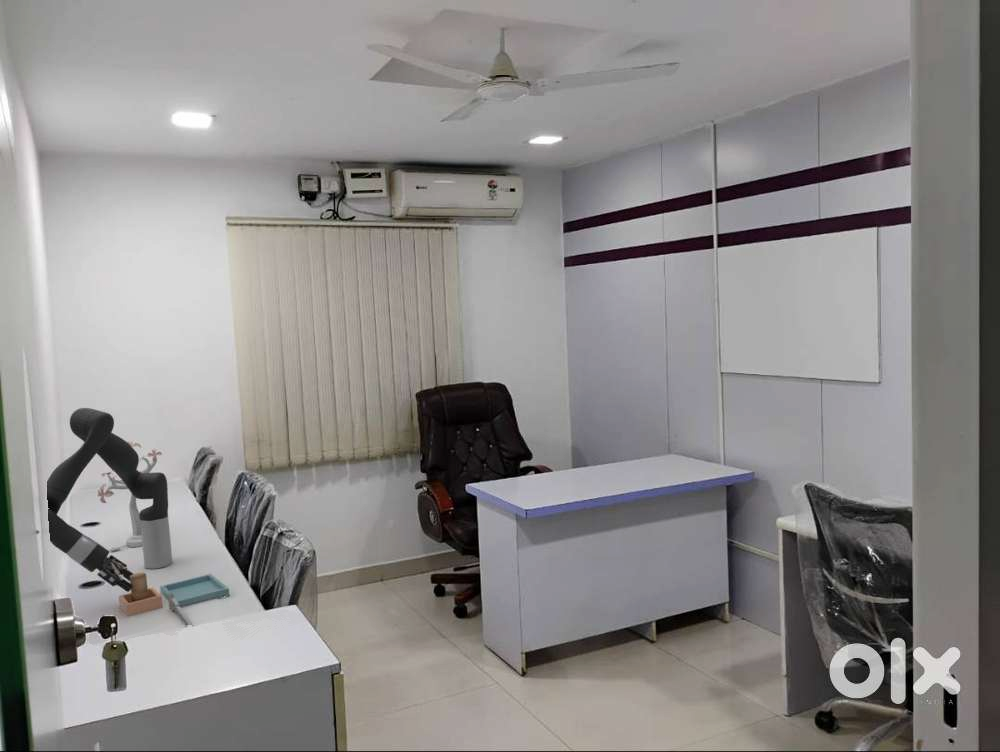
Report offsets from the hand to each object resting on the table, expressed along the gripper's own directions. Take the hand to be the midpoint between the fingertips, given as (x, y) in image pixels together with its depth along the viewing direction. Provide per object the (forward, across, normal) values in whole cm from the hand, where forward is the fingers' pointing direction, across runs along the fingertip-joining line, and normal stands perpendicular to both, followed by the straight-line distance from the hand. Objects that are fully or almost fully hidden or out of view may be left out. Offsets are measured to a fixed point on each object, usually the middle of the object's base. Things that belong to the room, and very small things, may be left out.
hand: (133, 584), depth 246 cm
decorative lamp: (-2, +72, +13) cm, 74 cm away
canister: (+6, 0, +4) cm, 8 cm away
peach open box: (+7, 0, +4) cm, 8 cm away
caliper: (+16, -14, -4) cm, 22 cm away
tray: (+17, +6, -6) cm, 19 cm away
